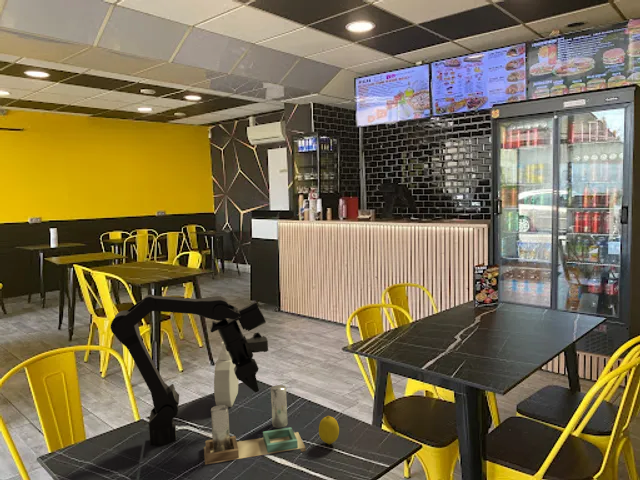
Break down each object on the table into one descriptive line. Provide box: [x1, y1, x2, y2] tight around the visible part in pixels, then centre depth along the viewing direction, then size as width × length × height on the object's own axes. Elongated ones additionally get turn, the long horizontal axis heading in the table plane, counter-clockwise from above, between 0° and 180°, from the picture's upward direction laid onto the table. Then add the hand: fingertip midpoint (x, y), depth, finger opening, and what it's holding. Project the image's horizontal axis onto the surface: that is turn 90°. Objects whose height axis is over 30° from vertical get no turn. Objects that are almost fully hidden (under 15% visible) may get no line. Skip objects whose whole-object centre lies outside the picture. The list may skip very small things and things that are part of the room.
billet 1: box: [210, 405, 231, 452], centre depth 130 cm, size 4×4×12 cm
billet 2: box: [270, 384, 288, 429], centre depth 145 cm, size 4×4×12 cm
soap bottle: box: [213, 341, 239, 408], centre depth 166 cm, size 16×5×20 cm, turn 179°
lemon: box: [318, 415, 340, 445], centre depth 135 cm, size 6×6×8 cm
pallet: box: [203, 426, 307, 465], centre depth 133 cm, size 26×9×3 cm, turn 105°
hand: (255, 385), depth 144 cm, fingers open, 9 cm apart
